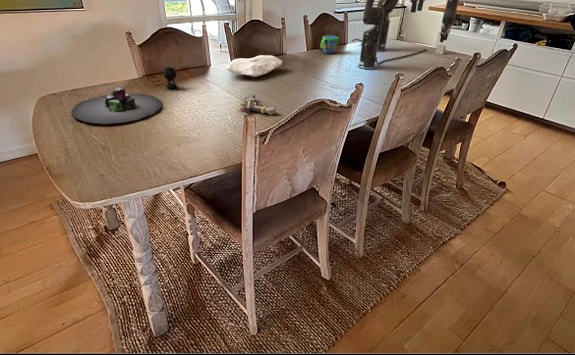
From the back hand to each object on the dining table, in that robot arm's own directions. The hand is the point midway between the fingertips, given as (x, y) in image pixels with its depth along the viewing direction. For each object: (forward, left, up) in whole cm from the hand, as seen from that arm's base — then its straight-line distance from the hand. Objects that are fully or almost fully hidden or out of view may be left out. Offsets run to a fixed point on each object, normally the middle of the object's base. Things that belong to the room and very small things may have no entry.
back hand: (443, 41), depth 249 cm
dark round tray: (-6, -213, -9) cm, 213 cm away
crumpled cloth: (-22, -138, -9) cm, 140 cm away
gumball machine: (-20, -185, -9) cm, 186 cm away
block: (-1, +2, -9) cm, 9 cm away
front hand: (+34, -82, +28) cm, 93 cm away
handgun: (+22, -161, -9) cm, 163 cm away
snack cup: (-38, -70, -9) cm, 80 cm away
